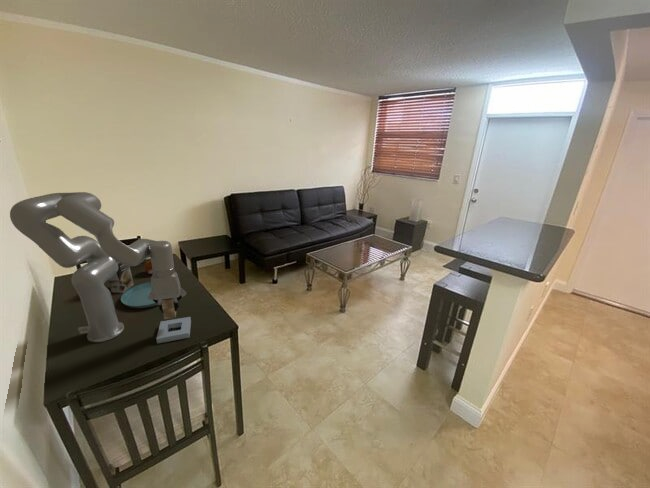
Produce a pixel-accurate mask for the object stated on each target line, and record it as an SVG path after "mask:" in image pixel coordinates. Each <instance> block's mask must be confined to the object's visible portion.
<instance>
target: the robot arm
mask: <svg viewBox="0 0 650 488" xmlns="http://www.w3.org/2000/svg"><path fill="white" fill-rule="evenodd" d="M101 208H102V202H101V199H99V198H98V197H97V196H96V195H94V194H93V193H91V192H85V191H83V192H82V191H79V192H55V193H48V194H42V195H40V196H34V197H29V198H26V199H23V200H20V201H18V202H16V203H15V204H14V205H12V207H11V208H10V210H9V218H10V222H11V223H12V225H13V226H14V228H15V229H17V231H19V232H20V233H21V234H23V235H24V236H25V237H26V238H28V239H30V240H31V241H32V242H33V243H35V244H36V246H37V247H39V248H40V249H41V250H42V252H44V253H45V254H46V255H47V256H48V257H49V258H50V259H52V261H54V263H56V264H57V265H59V266H60V267H62V268H64V269H69V268H73V267H76V266H78V265H80V264H81V263H83V262H86V264H84V265H82V266H81V267H79V268H77V270H75V271H74V272H73V274H72V275H71V284H72V286H73V287H74V289H75V291H76V292H77V294H78V296H79V299H80V302H81V305H82V308H83V311H84V314H85V317H86V321H87V324H88V325H87V326H79V327H78V328H77V330H78V333H79V335H85V334H86V338H87V340H88V341H89V342H92V343H102V342H106V341H109V340H112V339H114V338H117V337H118V336H119V335H120V334H122V333H123V331H124V329H125V325H124V323H123V322H121V321H119V320H118V316H117V311H116V307H115V304H114V301H113V296H112V292H111V290H109V288H108V287H106V286H105V283H106V282H107V281H109V280H108V279H109V278H111V277H112V276H114V275H115V274H116V273H117V271H118V264H117V262H116V261H118V262H120V263H122V264H124V265H126V266H130V267H136V266H139V265H140V264H141V263H144V262H145V260H147V259H149V258H150V260H151V263H152V270H149V273H151V274H150V275H151V277H150V278H151V279H150V282H151V291H152V292H151V293H150V295H149V296H148V299H149V300H152V301H154V302H155V303H157V304H158V305H157V306H158V307H159V311H161V314H163V309H162V302H161V300H162V299H171V298H173V299H174V309H175V311H176V312H177V311H178V309H179V305H180V304H179V301H180V300H181V299H182V298H183V297H185V296H186V295H187V291H186V290H185V289H183V288H182V286H181V283H180V278H179V276H178V272H177V271H175V264H174V256H173V254H174V253H173V247H172V244H171V242H169V241H167V240H154V239H153V240H152V239H148V238H140V239H136V240H135V241H134V242H132V243H130V244H129V245H127V244H125V243H123V242H122V241H120V240H119V239H118V238H117V237H116V236H115V234H114V233H113V232H114V231H113V228H114V225H115V220H114V219H113V218H112V217H110V216H109V215H108V214H106V213H104V212H103V211H101ZM60 216H61V217H62V218H64V219H66V220H68V221H69V222H71V223H72V224H74V225H76V226H78V228H81V229H82V230H84V231H86V232H87V233H88V234H90V235H92V236H93V237H95V238H93V237H90V236H87V235H78V236H75V237H73V238H70V237H69V236H68V235H67V234H66V233H65V232H64V231H63V230H61V228H59V227H58V226H56V225H53V224H50V223H48V222H47V221H49V220H51V219H54V218H57V217H60ZM115 260H116V261H115ZM149 273H148V274H149ZM152 274H153V275H152Z"/></svg>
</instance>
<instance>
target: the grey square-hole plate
mask: <svg viewBox="0 0 650 488" xmlns="http://www.w3.org/2000/svg"><path fill="white" fill-rule="evenodd" d="M159 323H160V324H159V327H158V331H157V334H156V338H155V339H156V344H162V343H168V342H172V341H179V340H183V339H189V338H190V335H191V325H192V319H191V316H187V317H181V318H180V317H179V318H172V319H169V320H167V319H166V320H161V321H160V322H159ZM171 328H172V329H176V328H180V329H178V330H172V331H169V330H171Z"/></svg>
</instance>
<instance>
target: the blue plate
mask: <svg viewBox="0 0 650 488" xmlns="http://www.w3.org/2000/svg"><path fill="white" fill-rule="evenodd" d="M151 292H152V291H151V281H149V282H144V283H140V284H138V285H135V286H132V287H130V288H129V289H127V290H126V291H125V292H123V293H122V294H121V297H120V302H121V303H122V304H123V305H125V306H126V307H129V308H134V309H145V308H151V307H155V306H159V305H158V304H157V303H155V302H154V301H152V300H149V299H148V296H149V295H150V293H151Z"/></svg>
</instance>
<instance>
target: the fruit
mask: <svg viewBox="0 0 650 488" xmlns="http://www.w3.org/2000/svg"><path fill="white" fill-rule="evenodd" d="M144 270H145V271H146V273H148V274H149V275H151V276H152V275H153V274H151V273H149V270H152V263H151V259H150V260H148V261H147V262H145V265H144Z"/></svg>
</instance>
